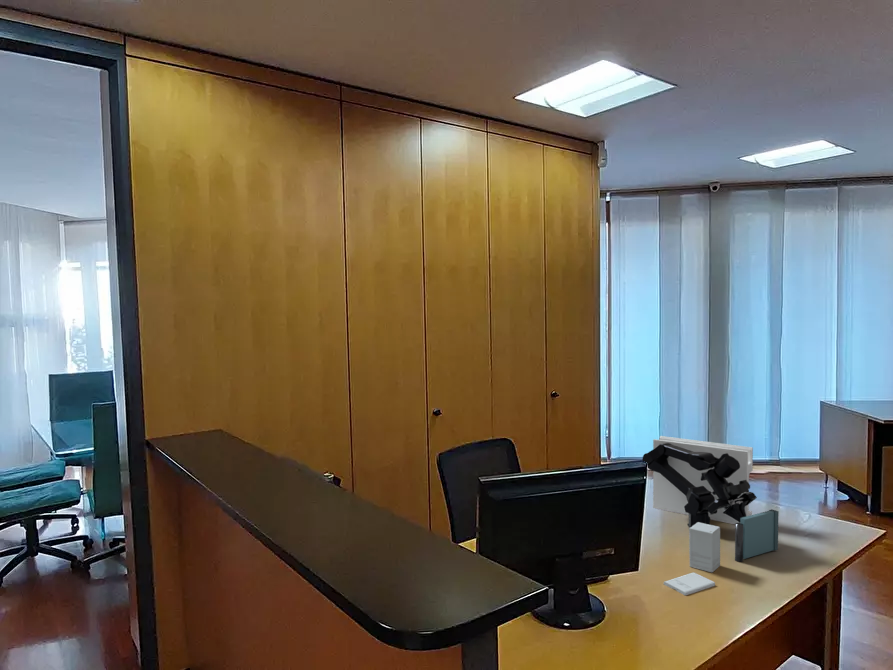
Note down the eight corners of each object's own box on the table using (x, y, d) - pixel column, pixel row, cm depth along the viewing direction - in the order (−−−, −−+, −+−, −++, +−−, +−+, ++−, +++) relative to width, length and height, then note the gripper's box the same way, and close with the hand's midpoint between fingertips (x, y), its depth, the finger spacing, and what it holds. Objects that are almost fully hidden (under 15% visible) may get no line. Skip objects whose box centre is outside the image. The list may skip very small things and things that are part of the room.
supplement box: (720, 565, 202) (721, 526, 201) (712, 573, 196) (712, 533, 195) (697, 559, 207) (697, 521, 206) (688, 566, 201) (688, 527, 200)
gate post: (736, 561, 204) (736, 525, 203) (733, 558, 206) (734, 522, 206) (744, 562, 204) (744, 525, 203) (741, 559, 206) (742, 522, 205)
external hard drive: (715, 587, 188) (685, 597, 182) (692, 576, 195) (663, 586, 190) (715, 582, 188) (685, 591, 182) (692, 571, 195) (663, 580, 189)
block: (653, 508, 256) (653, 439, 254) (660, 502, 263) (660, 435, 261) (746, 526, 234) (747, 451, 233) (751, 520, 241) (752, 447, 239)
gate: (745, 559, 205) (745, 519, 204) (738, 556, 207) (739, 517, 206) (777, 549, 212) (778, 511, 211) (771, 547, 214) (771, 509, 213)
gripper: (714, 476, 214) (743, 518, 205) (752, 469, 223) (780, 509, 213) (696, 493, 222) (722, 534, 212) (732, 485, 230) (759, 524, 221)
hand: (747, 525), depth 215 cm, fingers closed
